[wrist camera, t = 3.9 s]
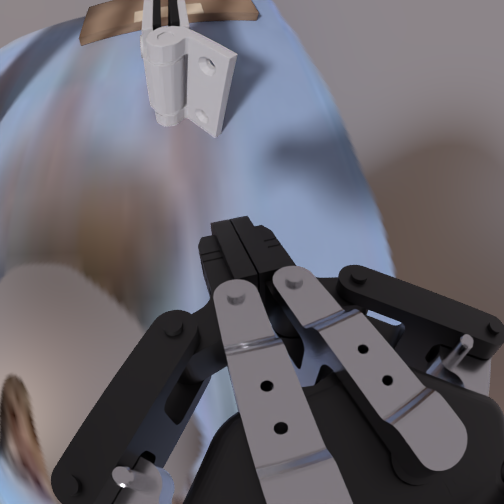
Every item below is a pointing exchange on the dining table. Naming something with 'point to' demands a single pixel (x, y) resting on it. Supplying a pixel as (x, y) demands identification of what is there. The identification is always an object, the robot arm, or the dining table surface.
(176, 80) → the hinge
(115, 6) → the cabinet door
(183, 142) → the dining table surface
